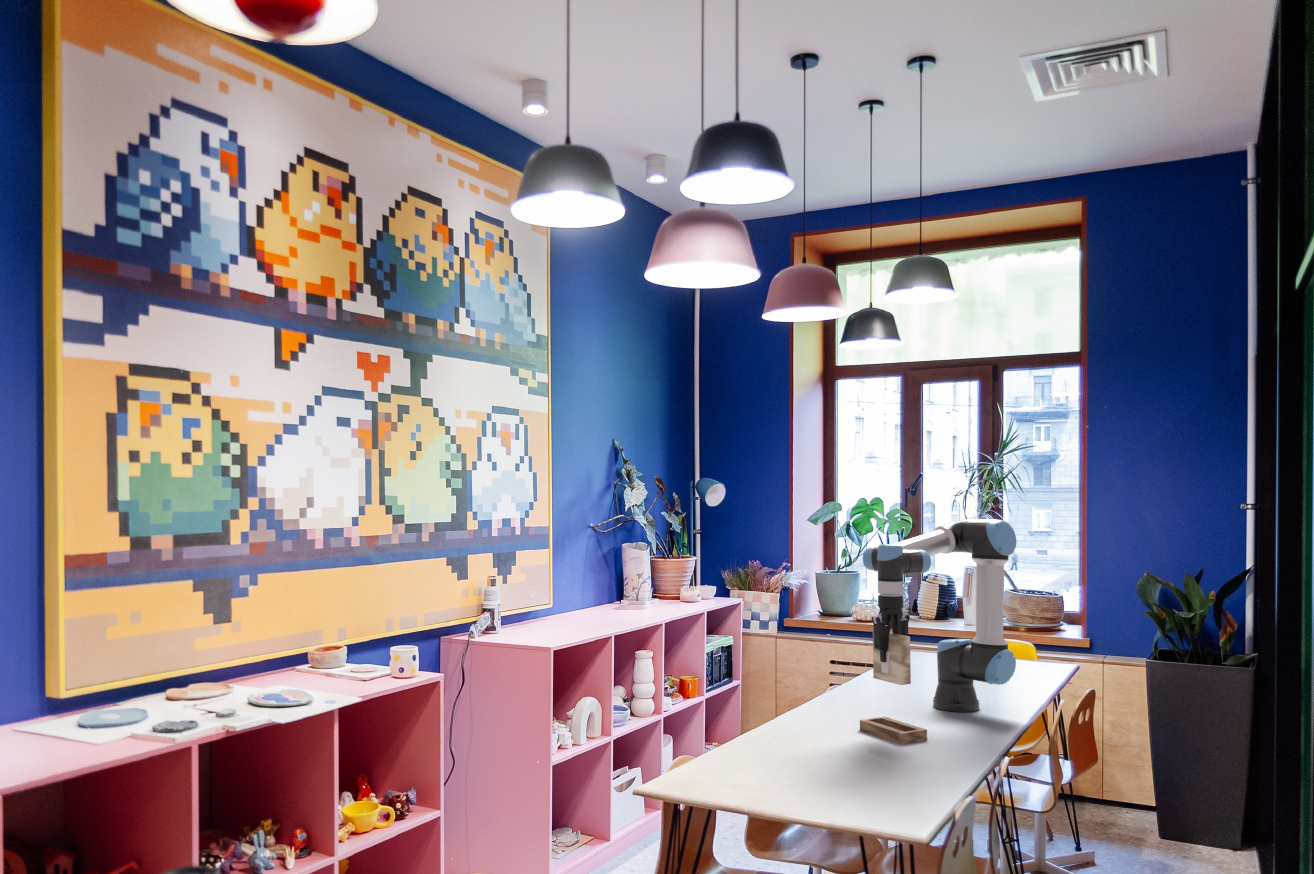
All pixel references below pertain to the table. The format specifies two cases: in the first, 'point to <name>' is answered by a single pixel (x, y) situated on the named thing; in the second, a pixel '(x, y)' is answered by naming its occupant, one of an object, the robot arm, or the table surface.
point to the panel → (894, 660)
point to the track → (893, 730)
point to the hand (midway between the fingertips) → (891, 671)
